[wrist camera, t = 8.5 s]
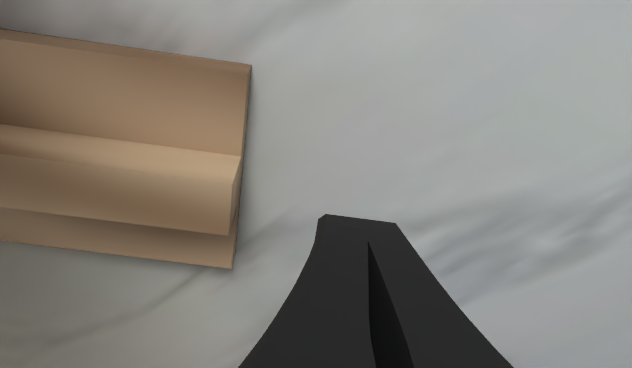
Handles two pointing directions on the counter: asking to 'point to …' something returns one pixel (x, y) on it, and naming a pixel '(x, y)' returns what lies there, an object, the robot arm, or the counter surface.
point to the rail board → (127, 114)
